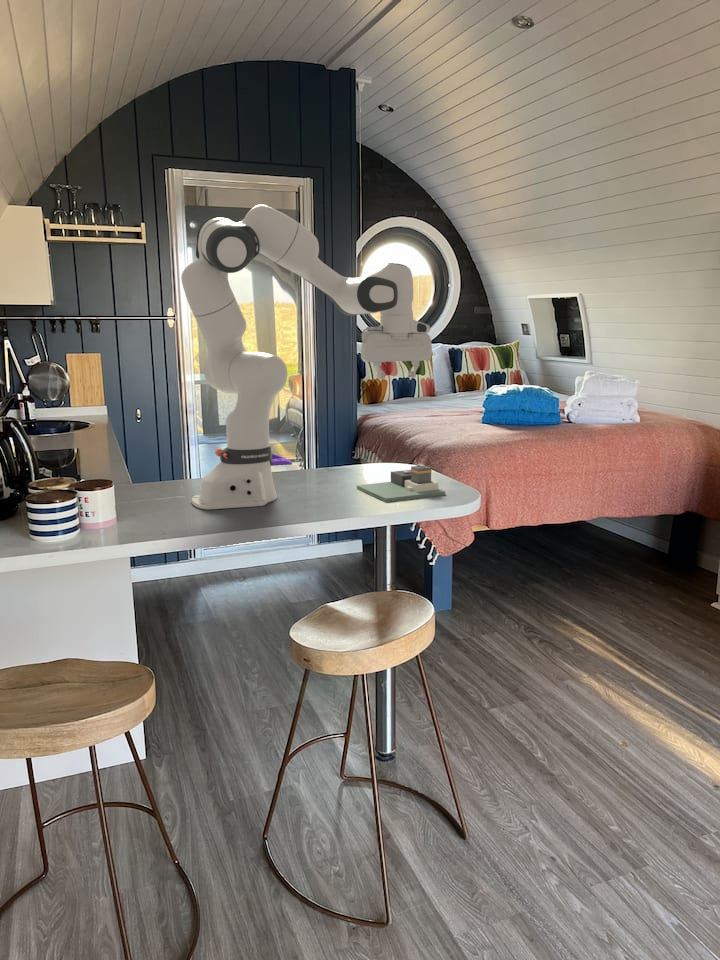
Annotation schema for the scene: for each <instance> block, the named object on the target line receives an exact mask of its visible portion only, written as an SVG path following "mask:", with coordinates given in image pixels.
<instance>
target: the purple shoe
mask: <svg viewBox="0 0 720 960" xmlns="http://www.w3.org/2000/svg"><path fill="white" fill-rule="evenodd" d="M292 465H293V462H292V460H290V459H289V458H286V457H284V456H281V455H278V454H275V453H273V452H272V466H276V467H277V466H292ZM272 466H271V467H272Z"/></svg>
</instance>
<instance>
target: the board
mask: <svg viewBox="0 0 720 960" xmlns="http://www.w3.org/2000/svg"><path fill="white" fill-rule="evenodd" d="M356 489H357V490H358V491H361V492H362V493H365V494H367V495H369V496H371V497H373V498H376V499H378V500H379V501H382V502H384V503H390V502H399V501H407V500H408V501H409V500H415V499H422V498H423V499H424V498H433V497H440V495H441V496H445V495H446V491H445V490H442V489H441V488H438V490H432V491H424V492H415V491H409V490H406V488H405V487H402V486H399V485H397V484H394V483H392V482H391V481H386V482H377V483H376V482H375V483H366V484H360V485H359V484H358V485H356Z"/></svg>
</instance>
